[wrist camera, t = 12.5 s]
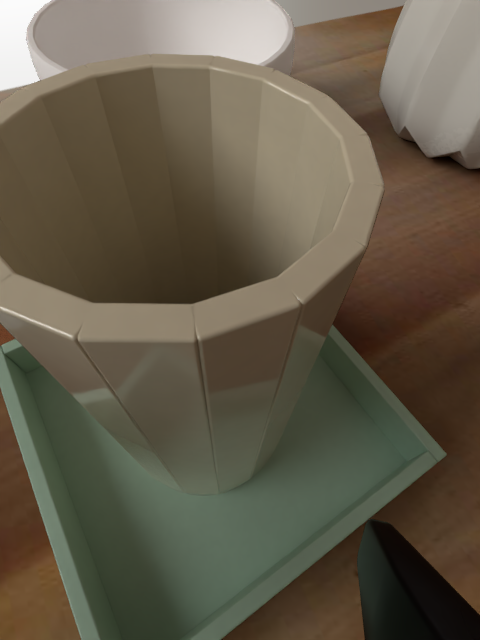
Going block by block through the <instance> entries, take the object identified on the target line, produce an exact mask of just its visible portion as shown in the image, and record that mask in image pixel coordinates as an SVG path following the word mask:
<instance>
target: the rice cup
mask: <svg viewBox="0 0 480 640" xmlns="http://www.w3.org/2000/svg"><path fill="white" fill-rule="evenodd" d="M383 195H384V182H383V179H382V175H381V172H380V169H379V166H378V163H377V160H376V157H375V153H374V150H373V147H372V144H371V141H370V138H369V136H367V133H366V132H365V131H364V130H363V129H362V128H361V127H360V126H359V125H358V124H357V123H356V122H355V121H354V120H353V119H352V118H351V117H350V116H349V115H348V114H347V113H346V112H345V111H344V110H343V109H342V108H341V107H340V106H339V105H338V104H337V103H336V102H335V101H334V100H333V99H332V98H331V97H328V95H327V94H325V93H323V92H321V91H319V90H317V89H315V88H313V87H311V86H309V85H307V84H305V83H303V82H301V81H299V80H297V79H295V78H293V77H291V76H289V75H287V74H285V73H283V72H281V71H279V70H275V69H274V68H269V67H265V66H260V65H256V64H251V63H247V62H243V61H238V60H234V59H229V58H225V57H221V56H215V57H214V56H213V55H181V54H151V55H149V54H145V55H138V56H132V57H126V58H119V59H113V60H107V61H100V62H94V63H88V64H86V65H80V66H78V67H75V68H72V69H70V70H67V71H64V72H62V73H59V74H56V75H54V76H51V77H48V78H46V79H43V80H40V81H38V82H35V83H32V84H30V85H27V86H24V87H23V89H19V90H17V91H16V92H14V93H13V94H11V95H10V96H9V97H7V98H6V99H4V100H3V101H1V102H0V324H1V325H2V326H3V327H4V328H5V329H6V330H7V331H8V332H9V333H10V334H11V335H12V336H13V337H14V338H15V339H16V340H17V341H18V342H19V343H20V344H21V345H22V346H23V347H24V348H25V349H26V350H27V351H28V352H29V353H30V354H31V355H32V356H33V357H34V358H35V359H36V360H37V361H38V362H39V363H40V364H41V365H42V366H43V367H44V368H45V369H46V370H47V371H48V372H49V373H50V374H51V375H52V376H53V377H54V378H55V379H56V380H57V381H58V382H59V383H60V384H61V385H62V386H63V387H64V388H65V389H66V390H67V391H68V392H69V393H70V394H71V395H72V396H73V397H74V398H75V399H76V400H77V401H78V402H79V403H80V404H81V405H82V406H83V407H84V408H85V409H86V410H87V411H88V412H89V414H90V415H91V416H92V417H93V418H94V419H95V420H96V421H97V422H98V423H99V424H100V425H101V426H102V427H103V428H104V429H105V430H106V431H107V432H108V433H109V434H110V435H111V436H112V437H113V438H114V439H115V440H116V441H117V442H118V443H119V444H120V445H121V446H122V447H123V448H124V449H125V450H126V451H127V452H128V453H129V454H130V455H131V456H132V457H133V458H134V459H135V460H136V461H137V462H138V463H139V464H140V465H141V466H142V467H143V468H144V469H145V470H146V471H147V472H148V473H149V474H150V475H151V476H152V477H153V478H154V479H155V480H156V481H159V482H161V483H162V484H164V485H165V486H167V487H169V488H171V489H173V490H176V491H178V492H181V493H185V494H189V495H197V496H210V495H217V494H222V493H226V492H228V491H231V490H234V489H236V488H238V487H240V486H242V485H243V484H245V483H246V482H248V481H249V480H251V479H252V478H253V477H254V476H255V475H256V474H257V473H258V472H260V471H261V469H262V468H263V467H264V466H265V464H266V463H267V462H268V460H269V459H270V458H271V457H272V455H273V454H274V451H275V449H276V447H277V445H278V443H279V440H280V438H281V436H282V434H283V432H284V429H285V427H286V425H287V423H288V421H289V418H290V416H291V414H292V412H293V410H294V408H295V405H296V403H297V401H298V399H299V397H300V394H301V392H302V390H303V388H304V386H305V383H306V381H307V379H308V377H309V375H310V372H311V370H312V368H313V366H314V364H315V361H316V359H317V357H318V355H319V353H320V350H321V348H322V346H323V344H324V342H325V339H326V337H327V335H328V333H329V331H330V328H331V326H332V324H333V322H334V320H335V317H336V315H337V313H338V311H339V309H340V306H341V304H342V302H343V300H344V298H345V295H346V293H347V291H348V289H349V287H350V284H351V282H352V280H353V278H354V276H355V273H356V271H357V269H358V267H359V265H360V262H361V260H362V258H363V256H364V254H365V251H366V249H367V247H368V244H369V241H370V238H371V234H372V231H373V228H374V224H375V221H376V218H377V215H378V211H379V208H380V205H381V201H382V198H383Z"/></svg>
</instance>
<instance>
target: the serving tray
mask: <svg viewBox="0 0 480 640" xmlns="http://www.w3.org/2000/svg"><path fill="white" fill-rule="evenodd" d="M0 388H1V391H2V394H3V397H4V400H5V403H6V406H7V409H8V412H9V416H10V419H11V422H12V425H13V428H14V431H15V434H16V437H17V441H18V444H19V447H20V450H21V453H22V456H23V459H24V462H25V465H26V469H27V472H28V475H29V478H30V481H31V484H32V487H33V490H34V493H35V497H36V500H37V503H38V506H39V509H40V512H41V515H42V518H43V522H44V525H45V528H46V531H47V534H48V537H49V540H50V543H51V546H52V550H53V553H54V556H55V559H56V562H57V565H58V568H59V571H60V574H61V578H62V581H63V584H64V587H65V590H66V593H67V596H68V599H69V602H70V606H71V609H72V612H73V615H74V618H75V621H76V624H77V627H78V631H79V634H80V637H81V640H221V639H222V638H224V637H225V636H226V635H227V634H228V633H230V632H231V631H232V630H233V629H235V628H236V627H237V626H238V625H239V624H241V623H242V622H243V621H244V620H246V619H247V618H248V617H249V616H250V615H252V614H253V613H254V612H255V611H257V610H258V609H259V608H260V607H262V606H263V605H264V604H265V603H266V602H268V601H269V600H270V599H271V598H273V597H274V596H275V595H276V594H277V593H279V592H280V591H281V590H282V589H284V588H285V587H286V586H287V585H288V584H290V583H291V582H292V581H293V580H295V579H296V578H297V577H298V576H299V575H301V574H302V573H303V572H304V571H306V570H307V569H308V568H309V567H310V566H312V565H313V564H314V563H315V562H317V561H318V560H319V559H320V558H322V557H323V556H324V555H325V554H326V553H328V552H329V551H330V550H331V549H333V548H334V547H335V546H336V545H337V544H339V543H340V542H341V541H342V540H344V539H345V538H346V537H347V536H348V535H350V534H351V533H352V532H353V531H355V530H356V529H357V528H358V527H359V526H361V525H362V524H363V523H364V522H366V521H367V520H368V519H369V518H370V517H372V516H373V515H374V514H375V513H377V512H378V511H379V510H380V509H381V508H383V507H384V506H385V505H386V504H388V503H389V502H390V501H391V500H393V499H394V498H395V497H396V496H397V495H399V494H400V493H401V492H402V491H404V490H405V489H406V488H407V487H408V486H410V485H411V484H412V483H413V482H415V481H416V480H417V479H418V478H419V477H421V476H422V475H423V474H424V473H426V472H427V471H428V470H429V469H430V468H432V467H433V466H434V465H435V464H437V462H439V461H440V460H442V459H443V458H444V457H445V456H446V455H447V454H446V452H445V451H444V450H443V449H442V448H441V447H440V446H439V445H438V443H437V442H436V441H435V440H434V439H433V438H432V437H431V436H430V434H429V433H428V432H427V431H426V430H425V429H424V428H423V426H422V425H421V424H420V423H419V422H418V421H417V420H416V419H415V417H414V416H413V415H412V414H411V413H410V412H409V411H408V409H407V408H406V407H405V406H404V405H403V404H402V403H401V402H400V400H399V399H398V398H397V397H396V396H395V395H394V394H393V392H392V391H391V390H390V389H389V388H388V387H387V386H386V385H385V383H384V382H383V381H382V380H381V379H380V378H379V377H378V375H377V374H376V373H375V372H374V371H373V370H372V369H371V368H370V366H369V365H368V364H367V363H366V362H365V361H364V360H363V358H362V357H361V356H360V355H359V354H358V353H357V352H356V351H355V349H354V348H353V347H352V346H351V345H350V344H349V343H348V341H347V340H346V339H345V338H344V337H343V336H342V335H341V334H340V332H339V331H338V330H337V329H336V328H335V327H334V326H333V324H332V326H331V328H330V331H329V333H328V335H327V337H326V339H325V342H324V344H323V346H322V348H321V350H320V353H319V355H318V357H317V359H316V361H315V364H314V366H313V368H312V370H311V372H310V375H309V377H308V379H307V381H306V383H305V386H304V388H303V390H302V392H301V394H300V397H299V399H298V401H297V403H296V405H295V408H294V410H293V412H292V414H291V416H290V418H289V421H288V423H287V425H286V427H285V429H284V432H283V434H282V436H281V438H280V440H279V443H278V445H277V447H276V449H275V451H274V454H273V455H272V457H271V458H270V459H269V460H268V462H267V463H266V464H265V466H264V467H263V468H262V469H261V471H260V472H258V473H257V474H256V475H255V476H254V477H253V478H252V479H251V480H249V481H248V482H246V483H245V484H243V485H242V486H240V487H238V488H236V489H234V490H231V491H228V492H226V493H222V494H217V495H210V496H197V495H189V494H185V493H181V492H178V491H176V490H173V489H171V488H169V487H167V486H165V485H164V484H162V483H161V482H159V481H156V480H155V479H154V478H153V477H152V476H151V475H150V474H149V473H148V472H147V471H146V470H145V469H144V468H143V467H142V466H141V465H140V464H139V463H138V462H137V461H136V460H135V459H134V458H133V457H132V456H131V455H130V454H129V453H128V452H127V451H126V450H125V449H124V448H123V447H122V446H121V445H120V444H119V443H118V442H117V441H116V440H115V439H114V438H113V437H112V436H111V435H110V434H109V433H108V432H107V431H106V430H105V429H104V428H103V427H102V426H101V425H100V424H99V423H98V422H97V421H96V420H95V419H94V418H93V417H92V416H91V415H90V414H89V412H88V411H87V410H86V409H85V408H84V407H83V406H82V405H81V404H80V403H79V402H78V401H77V400H76V399H75V398H74V397H73V396H72V395H71V394H70V393H69V392H68V391H67V390H66V389H65V388H64V387H63V386H62V385H61V384H60V383H59V382H58V381H57V380H56V379H55V378H54V377H53V376H52V375H51V374H50V373H49V372H48V371H47V370H46V369H45V368H44V367H43V366H42V365H41V364H40V363H39V362H38V361H37V360H36V359H35V358H34V357H33V356H32V355H31V354H30V353H29V352H28V351H27V350H26V349H25V348H24V347H23V346H22V345H21V344H20V343H19V342H18V341H17V340H16V339H14V340H12V341H10V342H7V343H5V344H3V345H2V346H0Z"/></svg>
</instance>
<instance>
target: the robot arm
mask: <svg viewBox="0 0 480 640" xmlns="http://www.w3.org/2000/svg"><path fill="white" fill-rule="evenodd" d="M357 567H358V577H359V587H360V596H361V606H362V616H363V625H364V635H365V640H480V615H479V614H478V613H477V612H476V611H475V610H474V609H473V608H472V607H471V605H470V604H469V603H468V602H467V601H466V600H465V599H464V598H463V597H462V596H461V595H460V594H459V593H458V592H457V591H456V590H455V589H454V588H453V587H452V586H451V585H450V584H449V583H448V582H447V581H446V580H445V579H444V578H443V577H442V576H441V575H440V574H439V573H438V572H437V571H436V570H435V569H434V568H433V567H432V566H431V565H430V563H429V562H428V561H427V560H426V559H425V558H424V557H423V556H422V555H421V554H420V553H419V552H418V551H417V550H416V549H415V548H414V547H413V546H412V545H411V544H410V543H409V542H408V541H407V540H406V539H405V538H404V537H403V536H402V535H401V534H400V533H399V532H398V531H397V530H396V529H395V528H394V527H393V526H392V525H391V524H390V523H388V522H383V521H378V520H374V519H370V520H368V521H367V523H366V525H365V529H364V532H363V536H362V540H361V544H360V548H359V551H358V558H357Z"/></svg>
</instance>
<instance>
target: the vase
mask: <svg viewBox="0 0 480 640" xmlns="http://www.w3.org/2000/svg"><path fill="white" fill-rule="evenodd" d="M379 97H380V99H381V102H382V104H383V106H384V108H385V111H386V113H387V115H388V117H389V120H390V122H391V124H392V126H393V128H394V130H395V132H396V133H397V135H398V136H399V137H401V138H403V139H406V140H409V141H413V142H416V143H417V144H418V146H419V147H420V149H421V150H422V152H423V153H424V154H425V155H426V156H427V157H429V158H433V157H444V156H449V157H451V158H452V159H454V160H455V161H456V162H458V163H459V164H461V165H462V166H463V167H465V168H467V169H477V168H480V0H406V2H405V4H404V7H403V9H402V12H401V14H400V16H399V19H398V21H397V23H396V26H395V28H394V32H393V35H392V38H391V41H390V44H389V48H388V51H387V57H386V63H385V67H384V71H383V74H382V78H381V84H380V90H379Z"/></svg>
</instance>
